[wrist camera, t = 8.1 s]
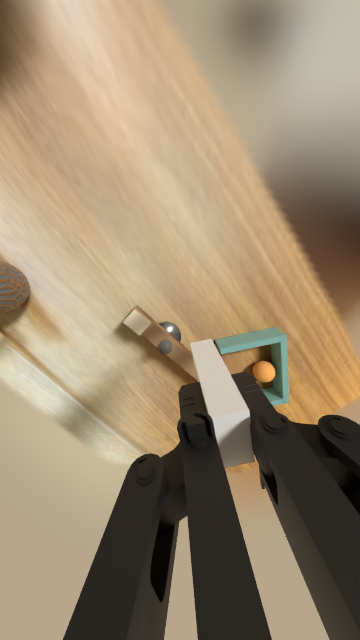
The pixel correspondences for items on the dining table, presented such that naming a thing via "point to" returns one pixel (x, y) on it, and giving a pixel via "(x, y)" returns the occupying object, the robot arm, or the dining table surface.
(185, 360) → the lever
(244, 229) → the dining table surface
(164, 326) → the pivot base
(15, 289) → the vase
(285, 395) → the teal arch
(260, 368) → the ball
